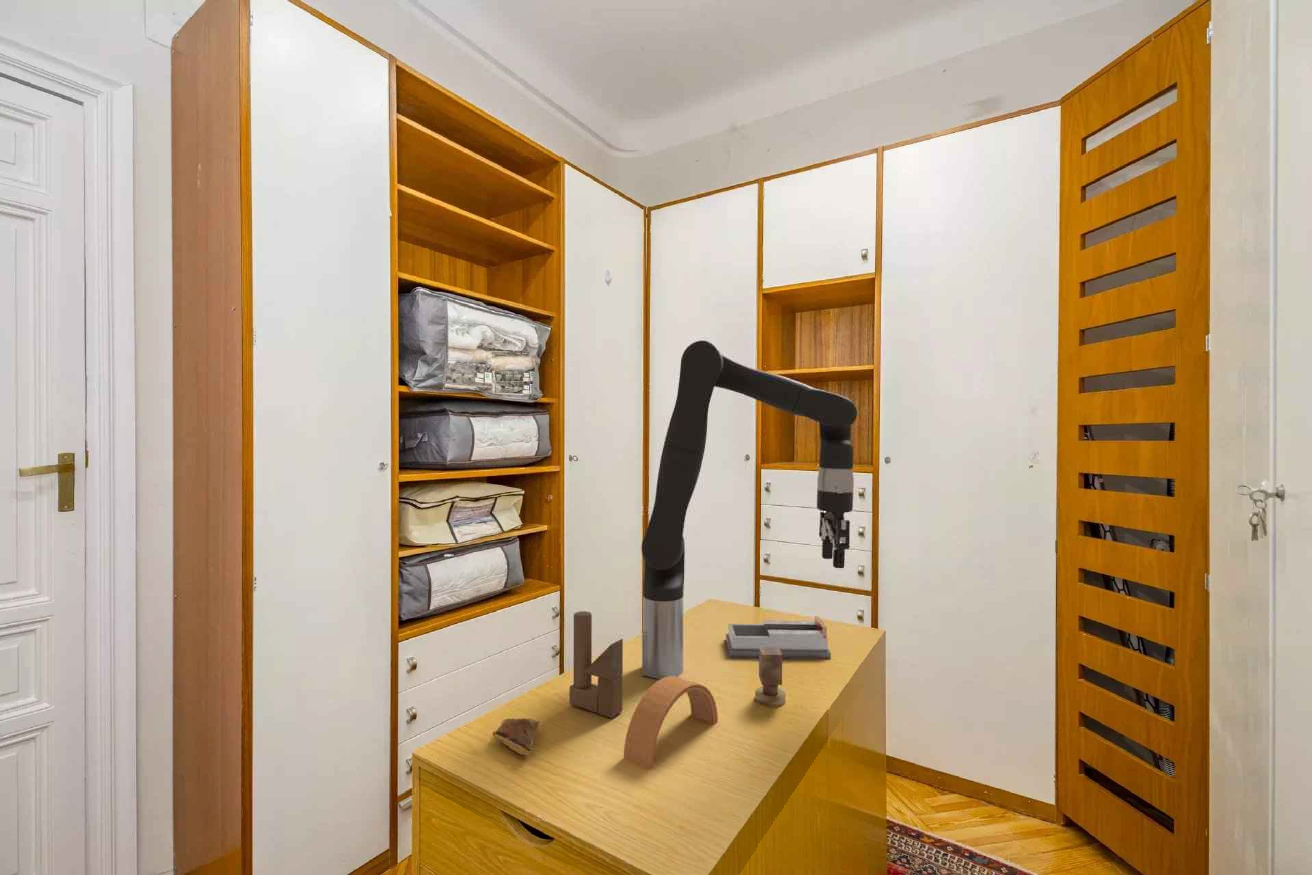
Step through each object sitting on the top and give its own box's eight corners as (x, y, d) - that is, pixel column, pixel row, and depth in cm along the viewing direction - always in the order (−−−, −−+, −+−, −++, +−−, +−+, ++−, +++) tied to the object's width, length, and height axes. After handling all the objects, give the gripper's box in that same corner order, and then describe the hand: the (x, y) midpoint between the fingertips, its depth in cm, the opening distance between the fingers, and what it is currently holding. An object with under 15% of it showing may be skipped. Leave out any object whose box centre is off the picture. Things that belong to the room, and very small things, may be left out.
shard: (530, 759, 95) (530, 748, 95) (483, 761, 94) (482, 750, 94) (540, 727, 106) (540, 717, 106) (498, 728, 105) (498, 718, 105)
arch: (718, 722, 108) (718, 669, 108) (649, 770, 93) (649, 708, 93) (693, 713, 112) (693, 661, 112) (622, 757, 97) (623, 697, 97)
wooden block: (611, 719, 109) (611, 624, 109) (568, 704, 115) (568, 614, 115) (623, 711, 112) (623, 618, 112) (580, 697, 118) (580, 609, 118)
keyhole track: (730, 657, 139) (730, 628, 139) (725, 639, 151) (725, 612, 151) (830, 658, 139) (830, 629, 139) (818, 640, 151) (818, 613, 151)
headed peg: (757, 706, 114) (757, 656, 114) (753, 693, 120) (753, 645, 120) (788, 707, 114) (788, 656, 114) (782, 693, 120) (782, 645, 120)
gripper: (809, 485, 133) (807, 555, 134) (827, 491, 119) (824, 570, 119) (842, 486, 133) (840, 556, 133) (863, 492, 119) (861, 571, 119)
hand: (832, 563), depth 126 cm, fingers open, 8 cm apart
